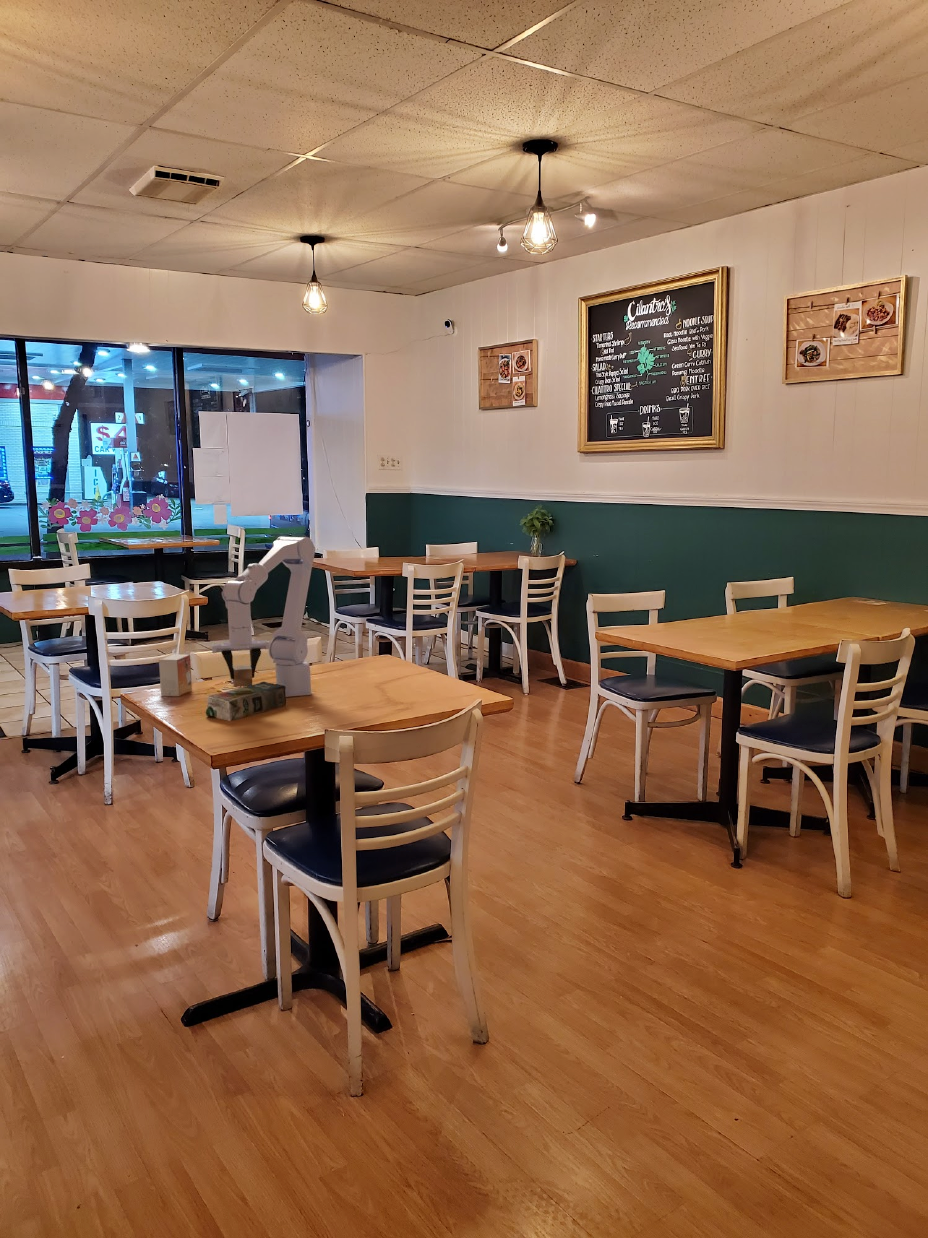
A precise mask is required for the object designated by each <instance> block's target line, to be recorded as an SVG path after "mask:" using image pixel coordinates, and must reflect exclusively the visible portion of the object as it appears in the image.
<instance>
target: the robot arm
mask: <svg viewBox="0 0 928 1238" xmlns="http://www.w3.org/2000/svg"><path fill="white" fill-rule="evenodd" d="M315 553H316V547H315V545H314V541H312V539H311V538H310V537H308V536H304V537H300V536H299V537H296V536H284V535H282V536H280V535H279V537H277V538H276V539H275V540H274V541H273V543H272V548H271V549H270V550H269V551H268V552H267V553H266V555H264V556H263V558H262V559H261V560H260V561H259V562H258V563H257V562H255V563H249V564H248V565H247V568H246V569H245V570H243V571H242V573H240V574H238V575H237V577H236V578H235V579H234V580H229V581H227V582H226V583H225V584H224V585H223V587H222V591H221V597H222V599H223V601H224V602H225V608H226V609H227V619H228V622H227V623H228V638H229V639H228V640H229V642H223V643H213V644H211V652H212V654H218V653H221V655H222V657H223V660H225V663H226V665H227V668H228V671H229V675H230V676H229V677H230V679H231V680H233V679H234V672H233V666H234V665H233V663H234V659H233V658H234V657H233V652H238V651H239V652H240V651H241V652H243V651H249V656H250V657H249V658H250V659H249V660H250V666H251V668H252V679H253V678H255V674H256V673H255V672H256V669H257V665H258V662H259V659H260V657H261V655H262V650H268V655H269V657H270V658H271V660H273V661H272V663H274V664H275V681H276V682H275V684H279V685H284V686H285V687H286V688H285V689H286V690H285V692H286V693H285V694H286V698H288V697H289V698H290V697H298V696H299V697H300V696H309V695H310V696H311V695H312V681H311V679H312V678H311V665H310V662H309V661H305V660H306V658H307V656H308V653H309V650H308V636H307V635H306V634H305V633H304V632H303V631H302V625H303V619H304V614H305V610H306V609H305V608H306V602H307V597H308V591H309V586H310V579H311V575H312V574H311V573H312V568H313V566H314V558H315ZM281 563H283V565H284V566H285V567H286V568H288V569H289V571H290V577H289V583H288V588H287V589H288V590H287V595H286V601H285V607H284V612H283V619H282V622H281V626H280V627H279V628H278V629H277V630H275V631H274V632H273V635H272V639H271V641H269V640H253V637H252V635H253V634H252V633H253V632H252V616H251V615H252V614H251V602H253V601H254V599H255V595H256V593H257V590H258V589H260V587H261V586H262V585H263V584H265V582H266V581H267V580H268V577H269V573H270V572H271V571H272V570H273V569H275V568H276V567H277V566H279V565H280V564H281Z"/></svg>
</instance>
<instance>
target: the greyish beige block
mask: <svg viewBox="0 0 928 1238" xmlns="http://www.w3.org/2000/svg"><path fill="white" fill-rule="evenodd" d="M233 672H234V679H232V684H233V686H234V687H235V688H236V687H239V688H240V687H245V686H252V685H253V678H252V668H251V664H249V665H248V664H247V665H233Z"/></svg>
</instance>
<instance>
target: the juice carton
mask: <svg viewBox="0 0 928 1238" xmlns="http://www.w3.org/2000/svg"><path fill="white" fill-rule="evenodd" d="M285 688H286V687H285V686H284V685H279V684H276V683H271V682H266V681H261V682H257V683H253V684H252V686H241V687H239V688H234V689H230V690H227V691H222V692H219V693H215V694H210V695H208V696H206V706H207V707H206V710H205V715H206V716H207V717H214V718H216V719H219V720H225V721H226V720H227V721H226V722H233V721H236V720H239V719H243V718H247V717H250V716H253V715H257V714H261V713H264V712H269V711H273V710H275V709H279V708H283V707H286V705H287V697H286V694H285V693H286V692H285V690H286V689H285Z"/></svg>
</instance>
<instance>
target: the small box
mask: <svg viewBox="0 0 928 1238" xmlns="http://www.w3.org/2000/svg"><path fill="white" fill-rule="evenodd" d="M158 664H159V665H158V666H159V669H158V670H159V680H160V681H159V682H160V683H159V684H160V685H159V686H160V696H161V697H181V696H182V695H184V694H186V693H189V692H191V691H193V684H192V683H193V682H192V681H193V680H192V667H191V665H192V664H191V654H182V653H181V654H179V653H177V654H176V653H173V654H170V655H168V656H166V657H163V658H160V659H158Z"/></svg>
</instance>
